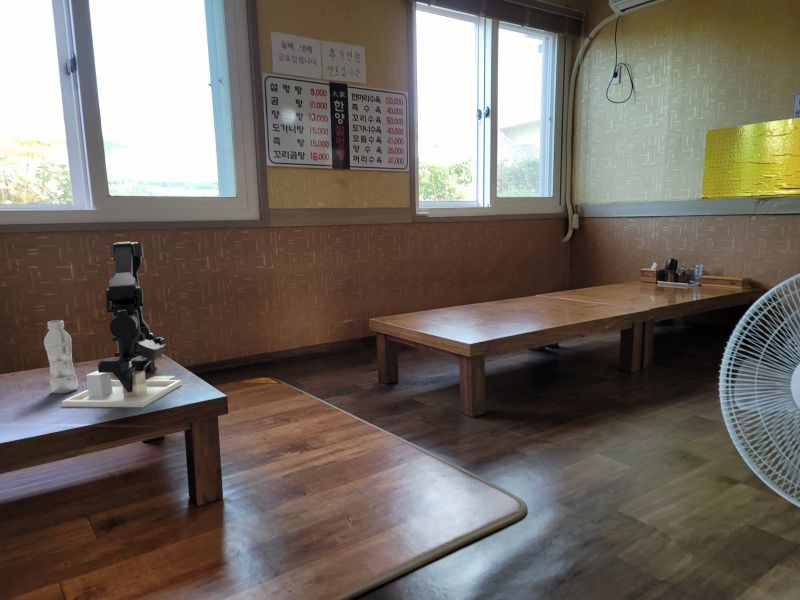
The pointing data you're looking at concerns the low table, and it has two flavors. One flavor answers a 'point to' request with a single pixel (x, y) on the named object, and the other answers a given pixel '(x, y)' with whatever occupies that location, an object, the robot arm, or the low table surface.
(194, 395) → the low table surface
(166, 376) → the mat
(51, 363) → the plastic bottle
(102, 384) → the plain block
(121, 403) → the tray
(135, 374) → the labelled block
